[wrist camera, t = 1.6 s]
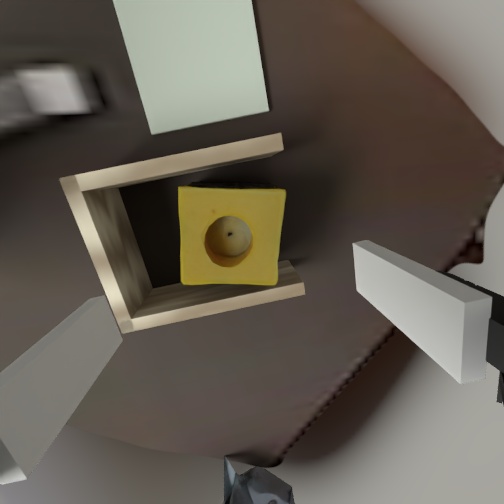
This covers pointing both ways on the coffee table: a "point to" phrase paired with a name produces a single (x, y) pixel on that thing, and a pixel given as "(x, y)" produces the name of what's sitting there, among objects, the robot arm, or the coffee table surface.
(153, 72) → the felt mat
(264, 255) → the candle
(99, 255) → the wooden u-shaped frame
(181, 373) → the coffee table surface
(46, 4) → the coffee table surface
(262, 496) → the crumpled grey paper
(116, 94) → the coffee table surface
